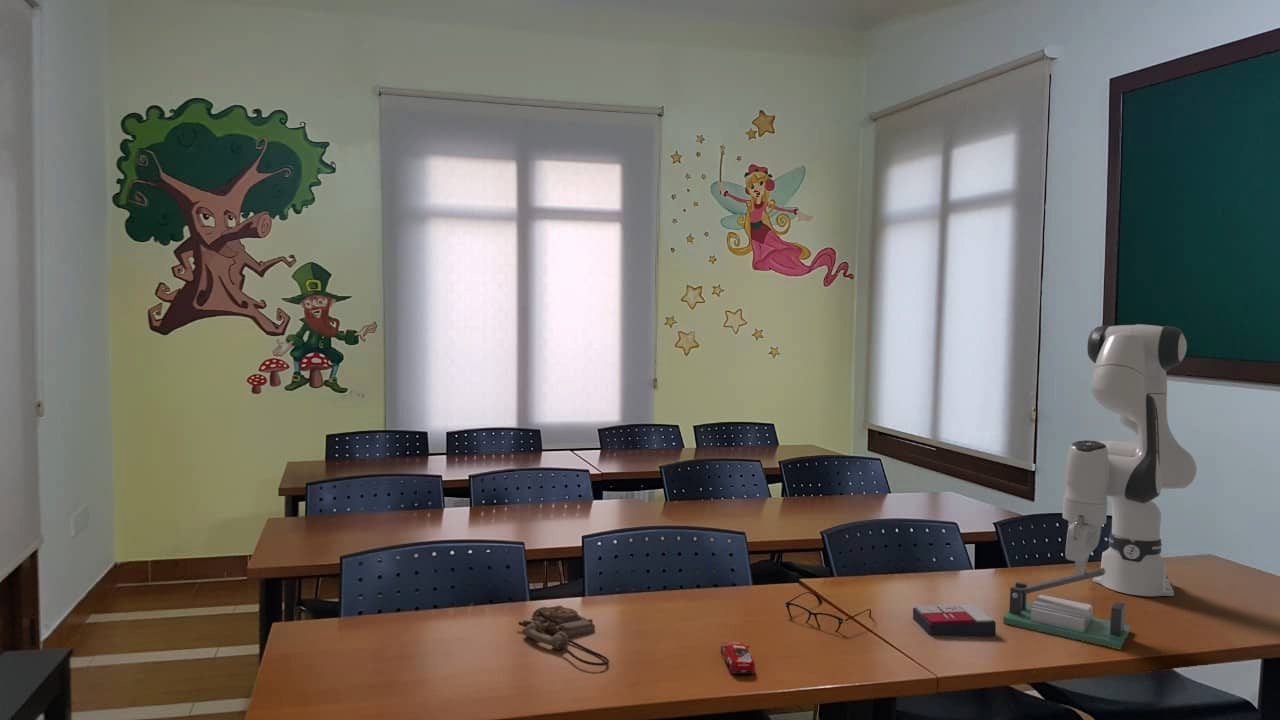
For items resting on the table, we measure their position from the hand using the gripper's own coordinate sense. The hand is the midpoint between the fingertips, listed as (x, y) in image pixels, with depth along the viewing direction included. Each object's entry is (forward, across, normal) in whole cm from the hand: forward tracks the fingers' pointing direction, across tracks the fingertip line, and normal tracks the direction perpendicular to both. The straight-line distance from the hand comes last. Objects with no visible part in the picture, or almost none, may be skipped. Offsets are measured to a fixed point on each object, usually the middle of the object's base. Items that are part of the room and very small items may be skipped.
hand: (1080, 573), depth 193 cm
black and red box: (+14, -16, +23) cm, 32 cm away
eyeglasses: (+15, -29, +48) cm, 58 cm away
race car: (+15, -66, +51) cm, 85 cm away
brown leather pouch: (+16, -79, +86) cm, 118 cm away
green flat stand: (+13, +1, +2) cm, 14 cm away
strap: (+4, +1, +4) cm, 6 cm away
